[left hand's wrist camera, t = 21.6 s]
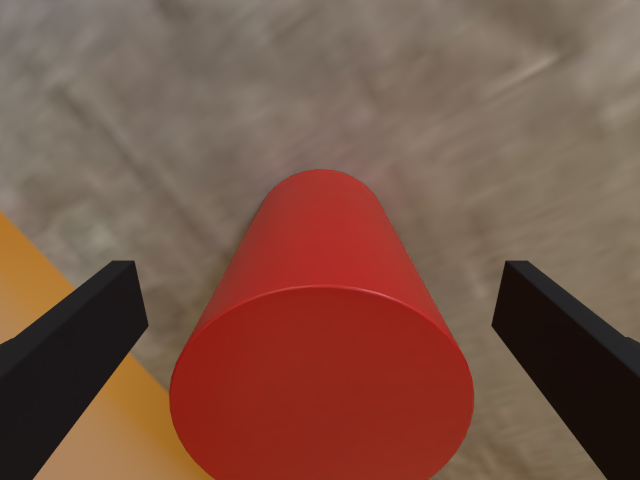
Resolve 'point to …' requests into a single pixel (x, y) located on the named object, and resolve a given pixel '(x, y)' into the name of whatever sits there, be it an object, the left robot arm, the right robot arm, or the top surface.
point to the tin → (321, 350)
